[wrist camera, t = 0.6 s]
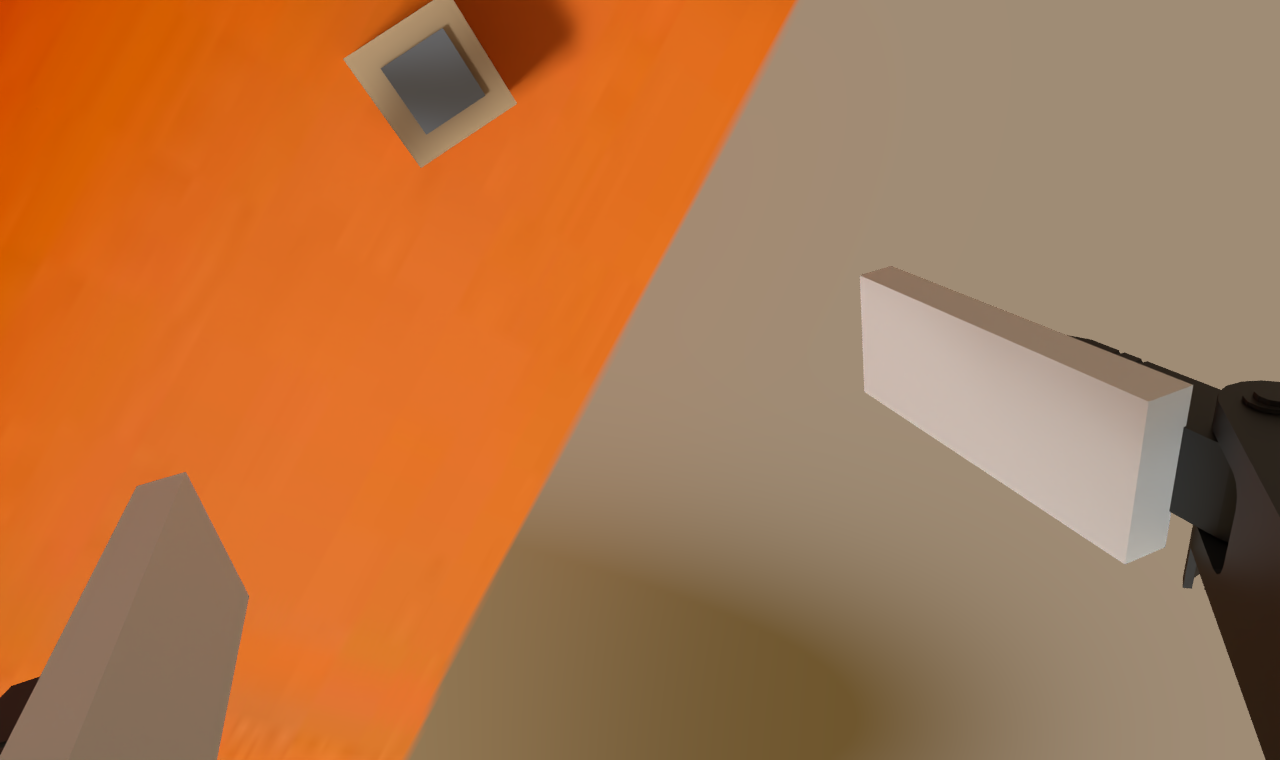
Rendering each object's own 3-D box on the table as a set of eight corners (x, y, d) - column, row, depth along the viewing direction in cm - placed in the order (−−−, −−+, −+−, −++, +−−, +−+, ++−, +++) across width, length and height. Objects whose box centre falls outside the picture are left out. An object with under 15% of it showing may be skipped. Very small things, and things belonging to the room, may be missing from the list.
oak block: (346, 59, 35) (342, 59, 30) (437, -1, 35) (448, -10, 30) (414, 155, 37) (421, 168, 33) (499, 98, 37) (518, 103, 33)
